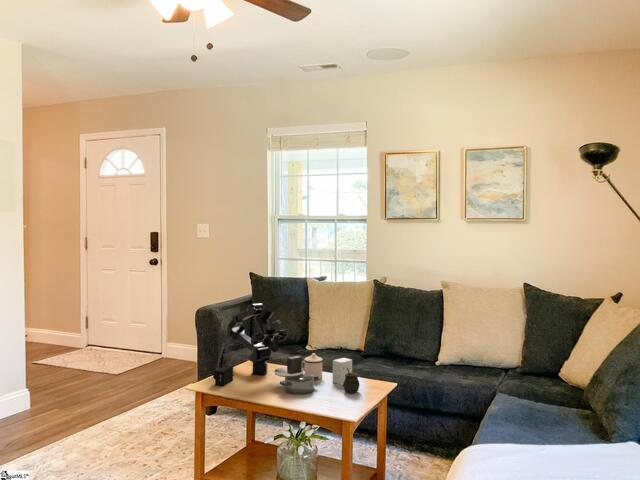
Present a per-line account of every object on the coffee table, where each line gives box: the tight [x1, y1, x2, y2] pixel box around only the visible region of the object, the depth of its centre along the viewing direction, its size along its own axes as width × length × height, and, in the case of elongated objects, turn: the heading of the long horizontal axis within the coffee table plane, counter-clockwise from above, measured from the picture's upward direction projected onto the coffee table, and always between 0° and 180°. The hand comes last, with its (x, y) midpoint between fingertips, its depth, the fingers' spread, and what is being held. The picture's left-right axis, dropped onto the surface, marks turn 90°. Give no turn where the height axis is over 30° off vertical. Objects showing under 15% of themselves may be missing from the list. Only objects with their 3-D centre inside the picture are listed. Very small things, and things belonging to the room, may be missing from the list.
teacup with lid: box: [302, 353, 324, 381], centre depth 265 cm, size 12×9×12 cm
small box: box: [332, 357, 353, 386], centre depth 258 cm, size 8×6×10 cm
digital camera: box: [212, 364, 234, 387], centre depth 254 cm, size 10×5×7 cm, turn 165°
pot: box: [279, 373, 319, 396], centre depth 245 cm, size 13×19×6 cm
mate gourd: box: [342, 368, 360, 394], centre depth 244 cm, size 7×8×10 cm
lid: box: [274, 355, 305, 378], centre depth 251 cm, size 13×13×8 cm
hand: (276, 351), depth 259 cm, fingers closed
